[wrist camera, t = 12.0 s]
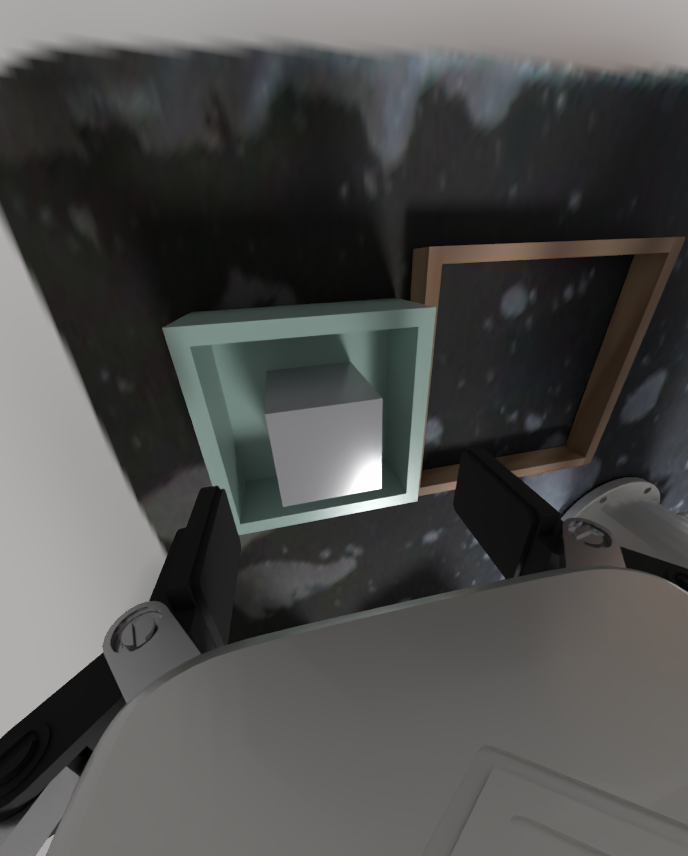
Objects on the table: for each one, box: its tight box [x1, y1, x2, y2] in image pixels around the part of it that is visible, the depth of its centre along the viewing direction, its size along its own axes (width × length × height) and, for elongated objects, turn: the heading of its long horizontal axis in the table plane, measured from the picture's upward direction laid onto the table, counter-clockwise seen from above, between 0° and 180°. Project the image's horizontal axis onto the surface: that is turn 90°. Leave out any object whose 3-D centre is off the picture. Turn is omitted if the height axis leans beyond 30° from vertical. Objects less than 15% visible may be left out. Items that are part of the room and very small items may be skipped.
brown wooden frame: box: [410, 237, 686, 496], centre depth 21 cm, size 17×17×2 cm
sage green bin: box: [162, 298, 436, 535], centre depth 18 cm, size 12×12×5 cm
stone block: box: [265, 362, 383, 507], centre depth 16 cm, size 5×5×6 cm
